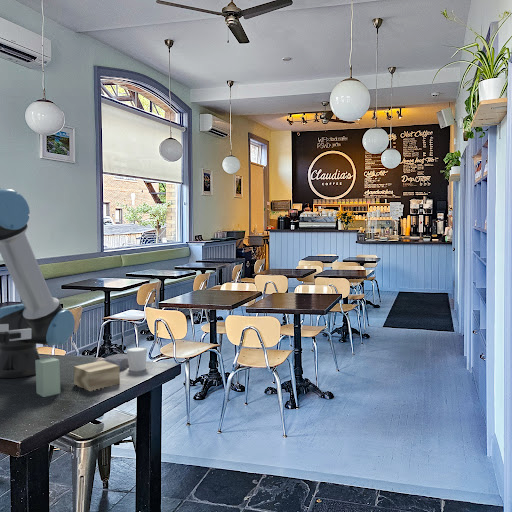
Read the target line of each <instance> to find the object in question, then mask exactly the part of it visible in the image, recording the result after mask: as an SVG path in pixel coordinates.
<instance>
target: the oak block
mask: <svg viewBox="0 0 512 512" xmlns="http://www.w3.org/2000/svg"><path fill="white" fill-rule="evenodd" d="M120 371H121V370H119V366H118V365H115V364H112V363H109V362H106V361H101V360H98V361H94V362H89V363H84V364H79V365H74V366H73V376H74V377H73V380H74V381H73V384H74V386H76V385H77V387H79V388H82V389H83V388H84V389H83V390H86V391H88V392H94V391H97V390H96V389H98V390H101V389H100V388H102V389H105V388H104V387H107V388H109V387H108V386H111V387H113V386H112V385H115V386H118V385H117V384H119V385H120V384H121V382H120V381H121V379H120V378H121V377H120V375H121V374H120ZM93 390H94V391H93Z"/></svg>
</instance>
